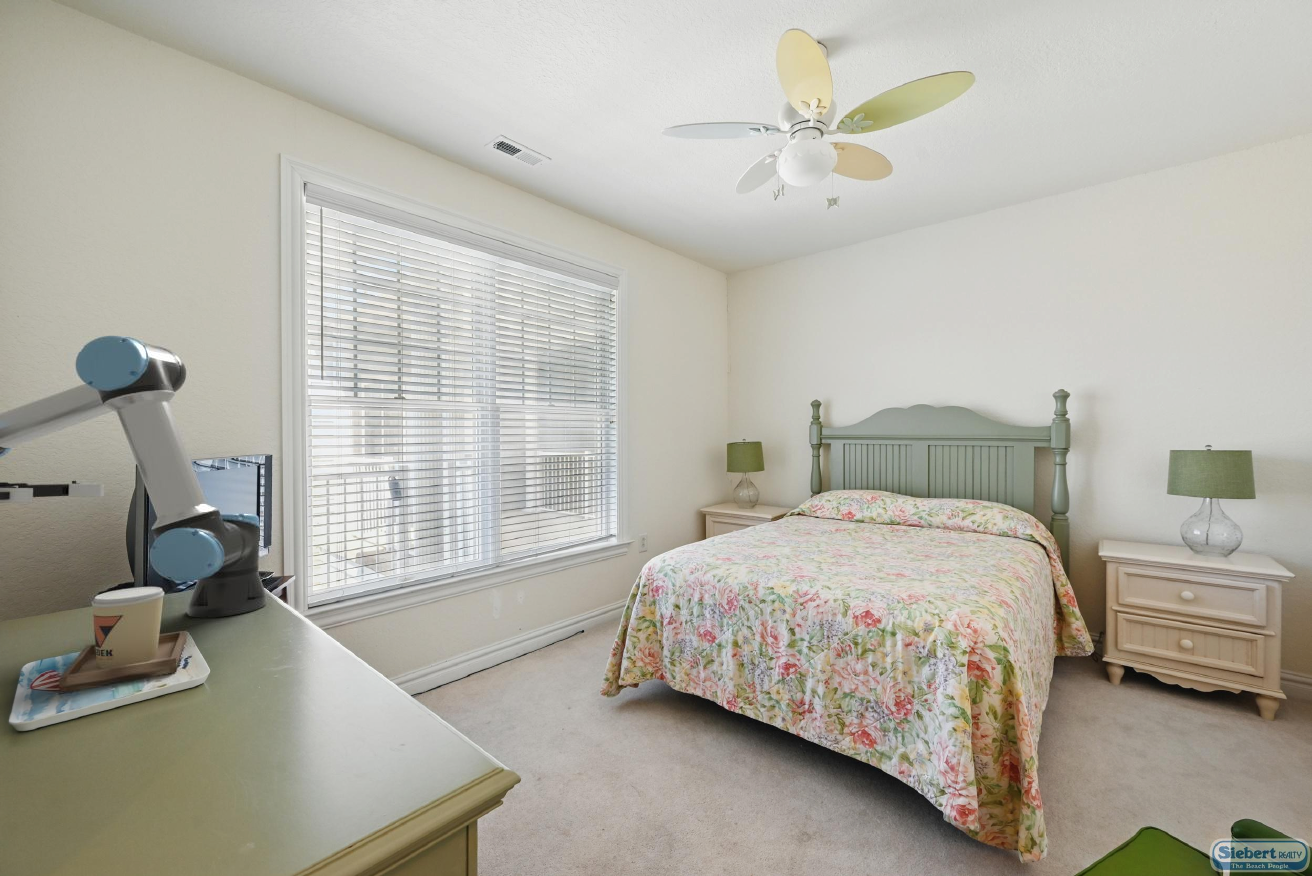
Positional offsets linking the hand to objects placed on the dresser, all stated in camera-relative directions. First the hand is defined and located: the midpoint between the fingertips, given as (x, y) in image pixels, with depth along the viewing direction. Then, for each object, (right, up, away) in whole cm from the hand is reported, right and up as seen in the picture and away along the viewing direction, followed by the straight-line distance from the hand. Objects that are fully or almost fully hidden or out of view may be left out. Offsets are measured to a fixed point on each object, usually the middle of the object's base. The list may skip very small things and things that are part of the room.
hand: (68, 492), depth 109 cm
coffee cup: (+23, -29, -11) cm, 39 cm away
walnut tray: (+23, -30, -11) cm, 39 cm away
